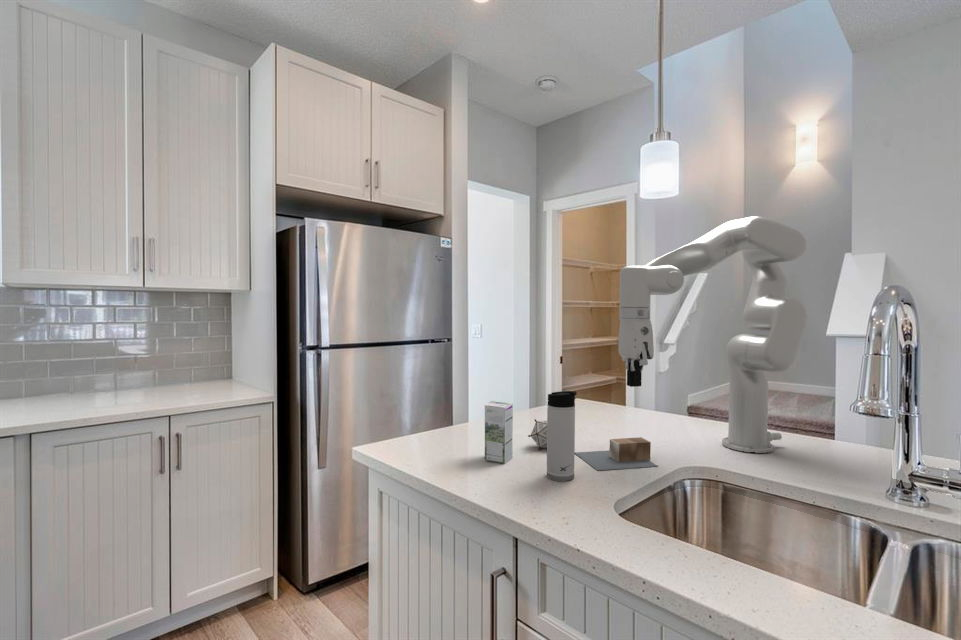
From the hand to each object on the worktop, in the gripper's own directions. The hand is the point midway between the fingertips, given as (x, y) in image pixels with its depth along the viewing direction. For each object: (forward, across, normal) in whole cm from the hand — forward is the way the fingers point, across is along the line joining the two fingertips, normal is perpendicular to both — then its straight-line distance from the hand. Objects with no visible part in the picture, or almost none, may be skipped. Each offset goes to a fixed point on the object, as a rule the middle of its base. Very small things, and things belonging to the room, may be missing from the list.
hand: (634, 385), depth 125 cm
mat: (+19, 0, +5) cm, 20 cm away
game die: (+19, +13, +19) cm, 30 cm away
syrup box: (+19, +6, +34) cm, 40 cm away
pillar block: (+16, 0, -3) cm, 17 cm away
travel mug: (+19, -9, +23) cm, 31 cm away
